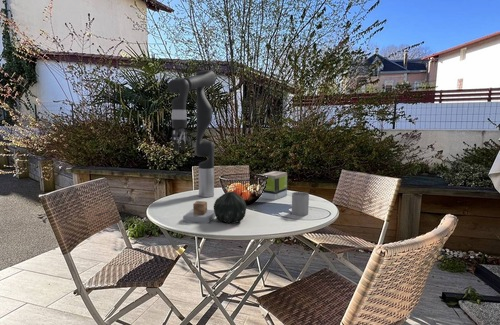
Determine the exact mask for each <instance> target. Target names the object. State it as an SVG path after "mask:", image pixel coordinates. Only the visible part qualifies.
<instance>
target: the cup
mask: <svg viewBox="0 0 500 325" xmlns="http://www.w3.org/2000/svg"><path fill="white" fill-rule="evenodd" d="M309 201H310V194H309V193H308V192H304V191H296V192H292V193H291V214H292V215H294V216H298V217H301V216H302V217H303V216H304V217H305V216H308V215H309V205H310V204H309V203H310V202H309Z"/></svg>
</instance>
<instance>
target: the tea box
mask: <svg viewBox="0 0 500 325" xmlns="http://www.w3.org/2000/svg"><path fill="white" fill-rule="evenodd" d="M261 175H264V176H267V177H268V179H267V184H266V188H265V190H264V192H263V194H262V195H261V194H260V195H261V196H260V198H261V199H266V200H271V201H276V200H278V199H280V198H283V197H286V196H288V172H284V171H275V170H273V171H269V172H265V173H261V174H260V176H261Z"/></svg>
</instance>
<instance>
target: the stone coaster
mask: <svg viewBox="0 0 500 325" xmlns="http://www.w3.org/2000/svg"><path fill="white" fill-rule="evenodd" d="M215 217H216V215H215V212H214V209H207V212H206V213H205V214H204V215H197V214H193V208H192V209H191V210H189V211H188V212H187V213H186V214H184V215H183V222H186V223H187V222H188V223H189V222H190V223H200V224H201V223H203V224H210V222H212V221H213V219H215Z"/></svg>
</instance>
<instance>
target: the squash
mask: <svg viewBox="0 0 500 325" xmlns="http://www.w3.org/2000/svg"><path fill="white" fill-rule="evenodd" d="M213 210H214V212H215V215H216V216H215V217H216V218H217V219H218V220H219V221H221V222H225V223H227V224H231V223H232V224H236V223H237V222H241V221H242V220H244V218H245V216H246V212H247V203H246V201H245V199H244V198H243V197H242V196H240V195H239V194H238V193H236V192H235V191H227V192H225V193H223V194H222V195H221V196H219V197H218V198H216V200H215V201H214V204H213Z"/></svg>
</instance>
